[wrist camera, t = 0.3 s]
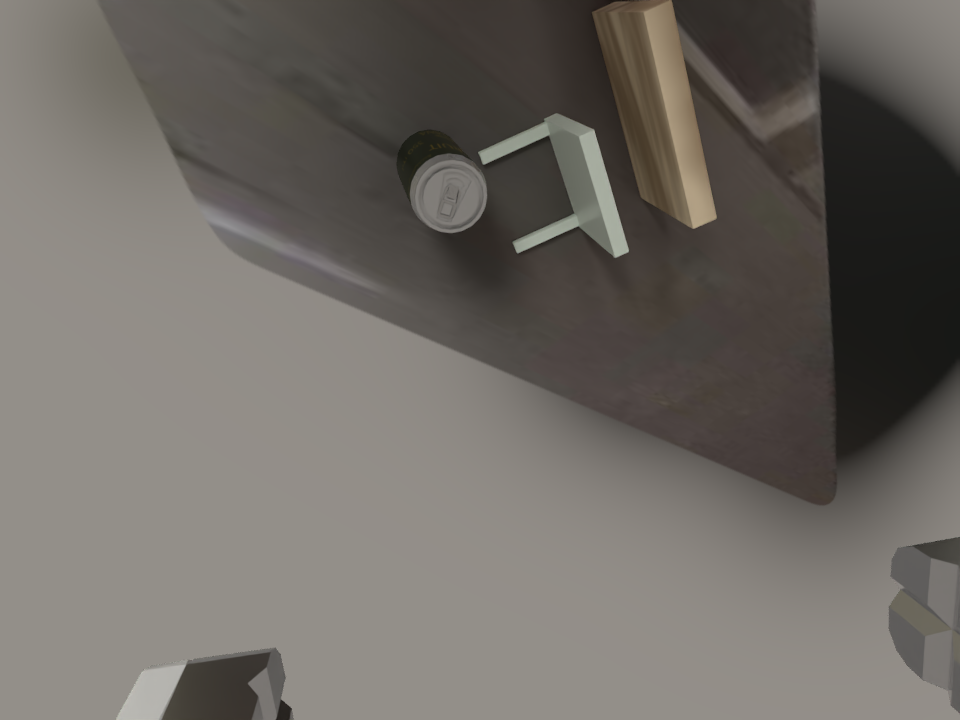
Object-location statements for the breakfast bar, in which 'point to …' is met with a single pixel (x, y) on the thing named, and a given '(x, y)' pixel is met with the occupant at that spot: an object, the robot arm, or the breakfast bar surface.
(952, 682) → the robot arm
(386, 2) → the breakfast bar surface
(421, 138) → the beer can
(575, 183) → the white legged plate
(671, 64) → the oak board
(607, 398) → the breakfast bar surface
